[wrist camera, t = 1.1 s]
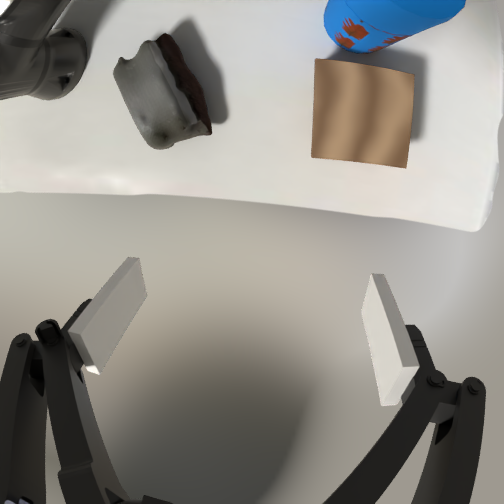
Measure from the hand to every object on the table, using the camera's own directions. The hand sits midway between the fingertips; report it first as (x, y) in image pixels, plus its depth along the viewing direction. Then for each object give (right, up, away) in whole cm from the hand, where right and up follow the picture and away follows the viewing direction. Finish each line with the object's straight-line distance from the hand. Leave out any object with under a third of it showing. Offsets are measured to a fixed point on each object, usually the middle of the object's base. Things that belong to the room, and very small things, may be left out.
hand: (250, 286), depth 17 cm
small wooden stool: (+16, +24, +25) cm, 38 cm away
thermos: (+16, +37, +18) cm, 44 cm away
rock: (-13, +28, +27) cm, 41 cm away
